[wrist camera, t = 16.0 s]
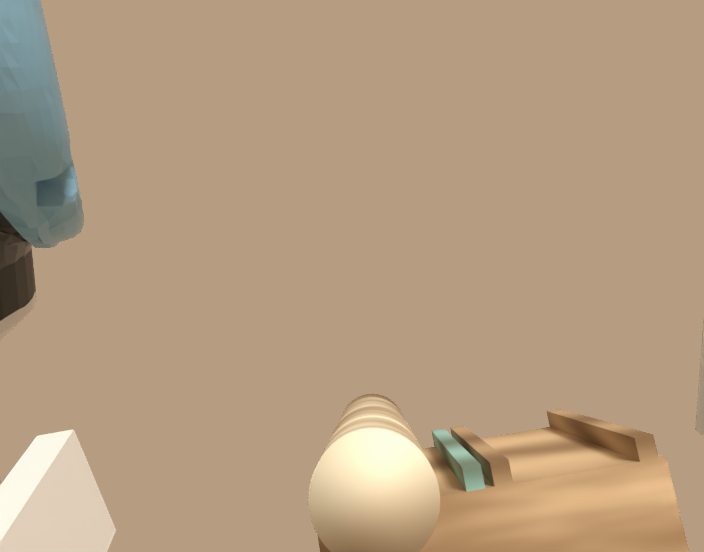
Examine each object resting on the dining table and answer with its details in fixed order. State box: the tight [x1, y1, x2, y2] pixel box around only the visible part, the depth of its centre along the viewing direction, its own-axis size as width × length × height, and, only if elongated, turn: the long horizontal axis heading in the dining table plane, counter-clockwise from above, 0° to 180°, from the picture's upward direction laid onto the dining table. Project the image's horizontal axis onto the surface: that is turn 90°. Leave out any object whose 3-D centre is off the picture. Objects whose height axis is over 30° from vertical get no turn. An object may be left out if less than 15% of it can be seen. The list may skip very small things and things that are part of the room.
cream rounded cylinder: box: [308, 394, 440, 552], centre depth 26 cm, size 18×4×4 cm, turn 178°
